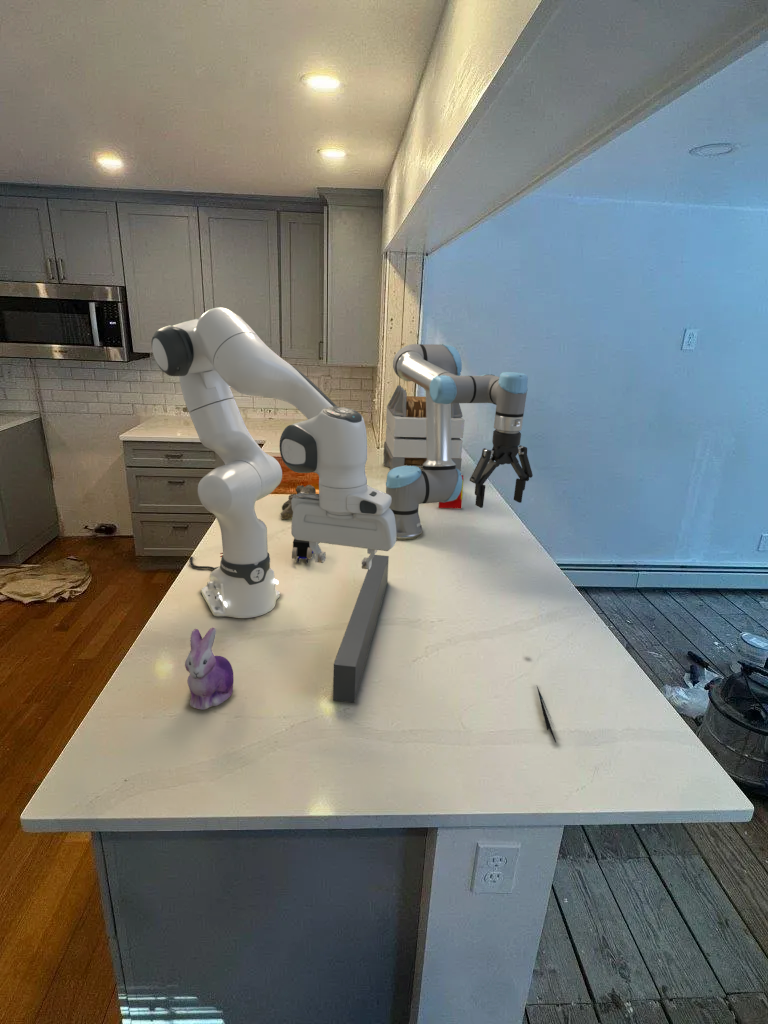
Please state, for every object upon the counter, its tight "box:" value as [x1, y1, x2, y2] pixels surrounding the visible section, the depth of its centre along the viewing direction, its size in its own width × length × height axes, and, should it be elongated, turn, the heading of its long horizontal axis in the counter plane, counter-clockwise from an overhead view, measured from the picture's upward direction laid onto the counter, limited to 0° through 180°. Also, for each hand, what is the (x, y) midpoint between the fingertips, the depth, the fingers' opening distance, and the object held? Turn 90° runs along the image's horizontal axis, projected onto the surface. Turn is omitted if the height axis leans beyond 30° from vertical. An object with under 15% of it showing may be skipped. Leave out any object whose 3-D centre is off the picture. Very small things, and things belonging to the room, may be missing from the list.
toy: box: [438, 474, 465, 510], centre depth 239 cm, size 12×13×30 cm
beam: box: [332, 554, 390, 704], centre depth 138 cm, size 54×4×9 cm, turn 173°
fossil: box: [280, 484, 317, 520], centre depth 215 cm, size 22×10×15 cm
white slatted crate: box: [383, 384, 465, 472], centre depth 268 cm, size 34×33×41 cm
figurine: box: [184, 626, 234, 711], centre depth 111 cm, size 9×10×15 cm
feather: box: [527, 657, 557, 743], centre depth 118 cm, size 2×28×2 cm
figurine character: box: [291, 537, 314, 564], centre depth 177 cm, size 7×8×15 cm
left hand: (343, 564), depth 110 cm, fingers open, 8 cm apart
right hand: (498, 503), depth 162 cm, fingers open, 13 cm apart
